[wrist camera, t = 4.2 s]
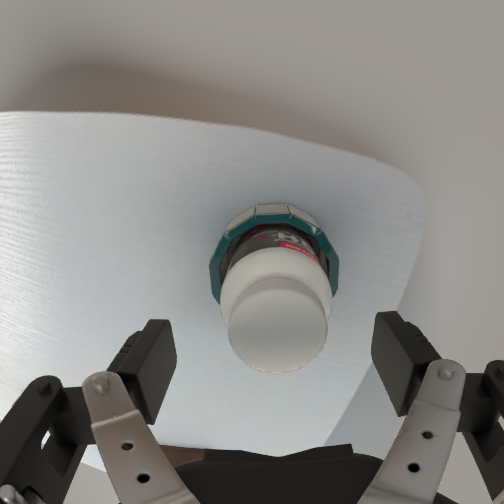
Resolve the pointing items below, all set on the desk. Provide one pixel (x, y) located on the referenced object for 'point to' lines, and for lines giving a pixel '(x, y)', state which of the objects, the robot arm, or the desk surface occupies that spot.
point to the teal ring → (272, 216)
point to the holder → (181, 454)
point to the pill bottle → (276, 299)
